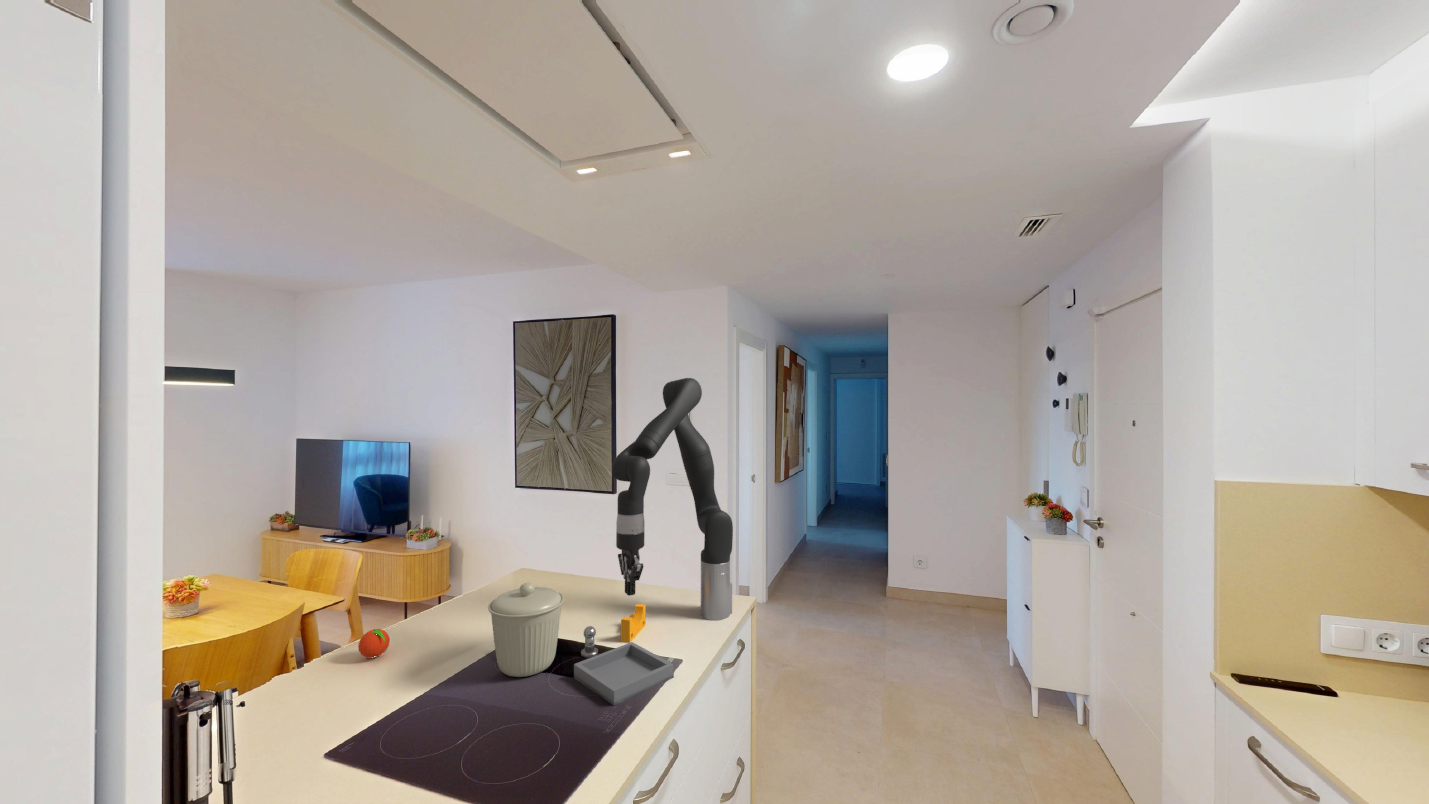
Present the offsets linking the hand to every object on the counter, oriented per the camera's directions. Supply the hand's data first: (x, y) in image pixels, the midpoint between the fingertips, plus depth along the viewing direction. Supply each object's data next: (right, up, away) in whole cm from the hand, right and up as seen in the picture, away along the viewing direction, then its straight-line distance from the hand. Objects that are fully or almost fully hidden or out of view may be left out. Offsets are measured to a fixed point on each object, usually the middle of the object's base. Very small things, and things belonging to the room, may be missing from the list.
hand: (630, 593), depth 143 cm
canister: (-24, -15, -10) cm, 30 cm away
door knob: (-10, -15, -3) cm, 18 cm away
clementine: (-66, -15, -4) cm, 68 cm away
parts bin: (+1, -15, -15) cm, 21 cm away
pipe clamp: (-1, -16, +10) cm, 19 cm away
